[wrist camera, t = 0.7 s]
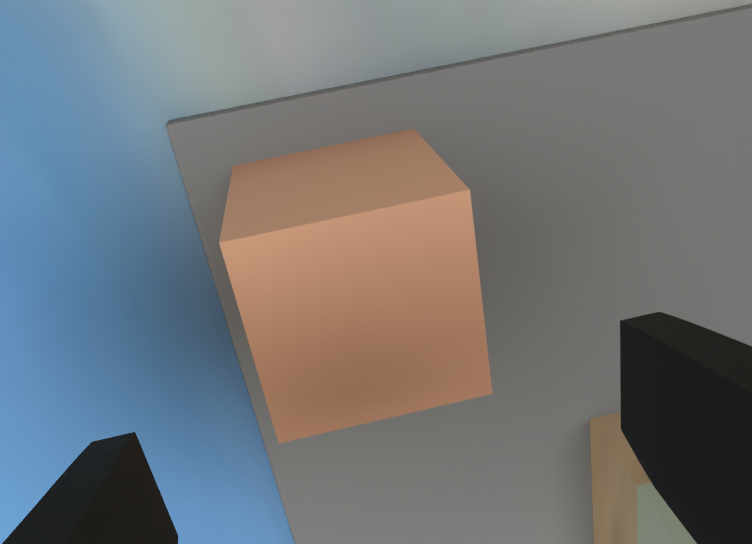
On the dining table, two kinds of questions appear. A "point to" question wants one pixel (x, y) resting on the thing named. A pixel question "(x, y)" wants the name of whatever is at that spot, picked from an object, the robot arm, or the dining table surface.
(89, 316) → the dining table surface
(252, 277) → the terracotta block
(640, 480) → the oak tower base block
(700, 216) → the slate mat
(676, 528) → the sage tower top block
